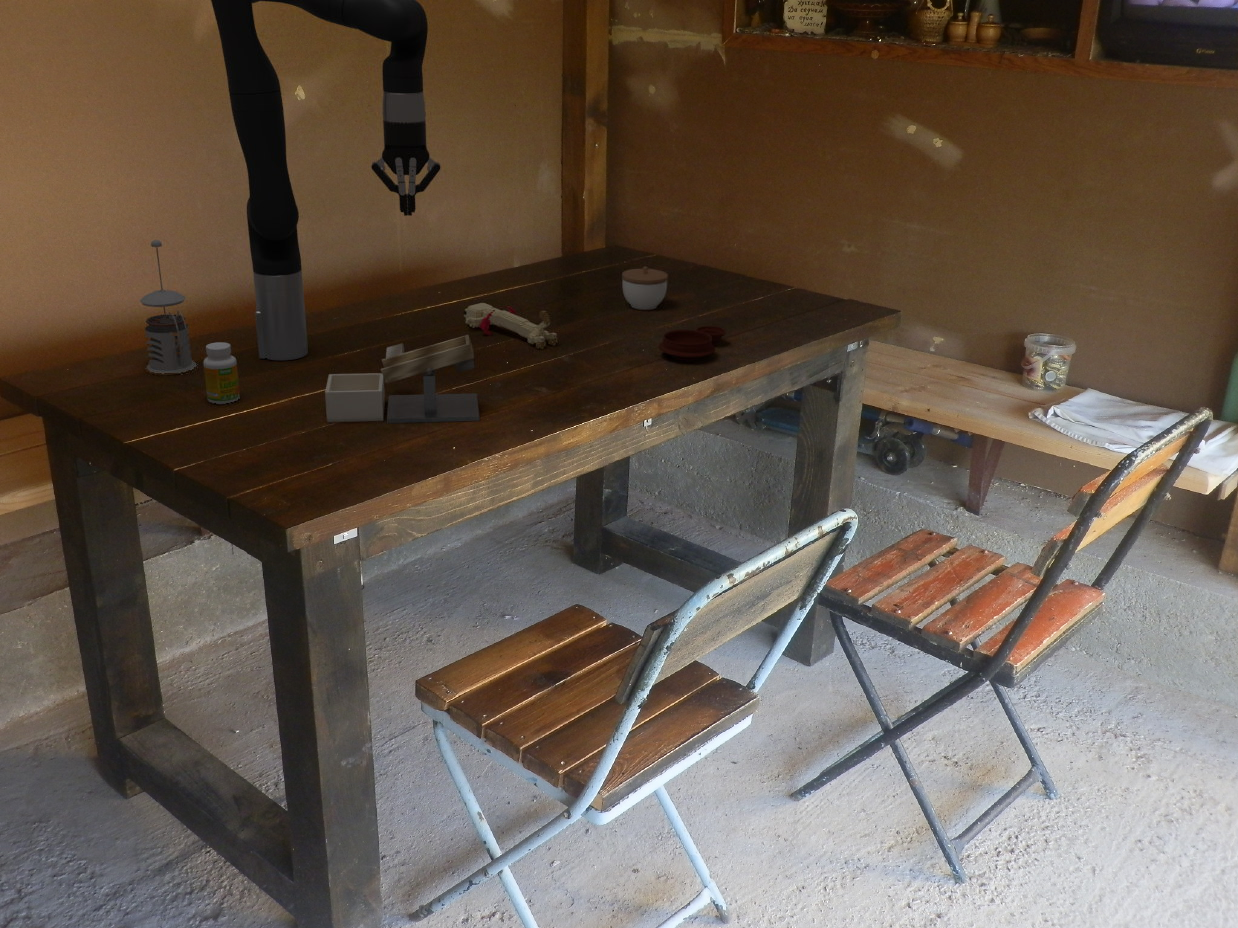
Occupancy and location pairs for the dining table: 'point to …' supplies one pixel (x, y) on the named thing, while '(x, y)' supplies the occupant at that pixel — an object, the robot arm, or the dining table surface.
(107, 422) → the dining table surface
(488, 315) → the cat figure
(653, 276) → the lidded jar
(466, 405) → the stand
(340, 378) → the open grey tray box
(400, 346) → the chute
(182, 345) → the french press
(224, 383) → the supplement bottle
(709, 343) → the pottery
